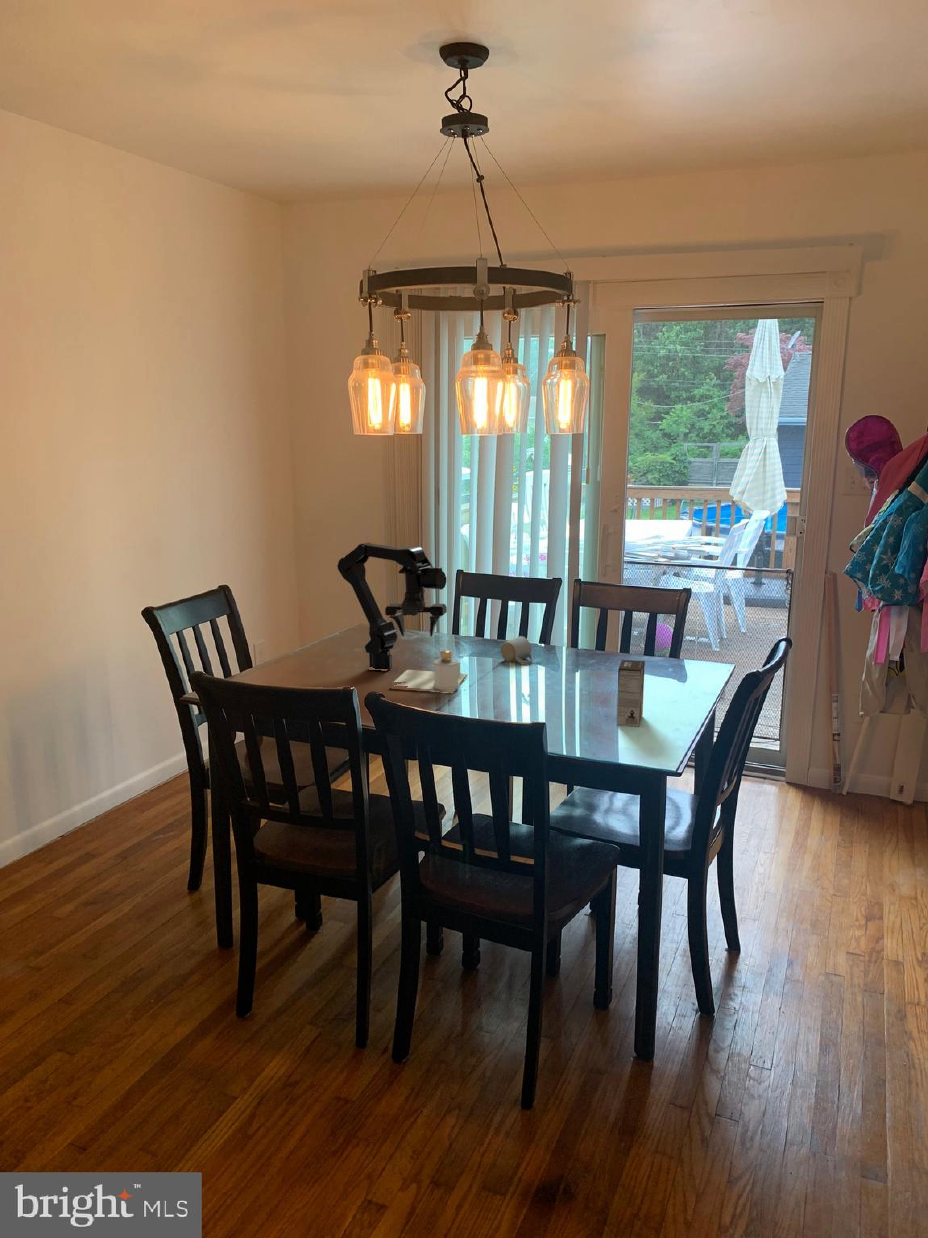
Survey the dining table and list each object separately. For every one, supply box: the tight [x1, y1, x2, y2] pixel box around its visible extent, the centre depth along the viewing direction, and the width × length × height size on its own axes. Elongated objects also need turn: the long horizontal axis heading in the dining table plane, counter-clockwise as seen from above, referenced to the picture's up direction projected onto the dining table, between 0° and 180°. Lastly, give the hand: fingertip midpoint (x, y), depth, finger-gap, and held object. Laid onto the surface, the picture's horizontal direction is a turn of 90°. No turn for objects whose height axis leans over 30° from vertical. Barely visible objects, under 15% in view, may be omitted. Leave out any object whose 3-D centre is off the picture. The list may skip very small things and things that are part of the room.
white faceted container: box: [433, 658, 461, 690], centre depth 270 cm, size 9×8×8 cm
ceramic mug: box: [500, 635, 533, 665], centre depth 300 cm, size 11×8×8 cm
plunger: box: [439, 649, 453, 662], centre depth 269 cm, size 5×5×9 cm
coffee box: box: [616, 659, 646, 728], centre depth 241 cm, size 9×6×16 cm
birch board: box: [393, 669, 468, 694], centre depth 277 cm, size 20×18×1 cm
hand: (417, 636), depth 282 cm, fingers open, 9 cm apart
